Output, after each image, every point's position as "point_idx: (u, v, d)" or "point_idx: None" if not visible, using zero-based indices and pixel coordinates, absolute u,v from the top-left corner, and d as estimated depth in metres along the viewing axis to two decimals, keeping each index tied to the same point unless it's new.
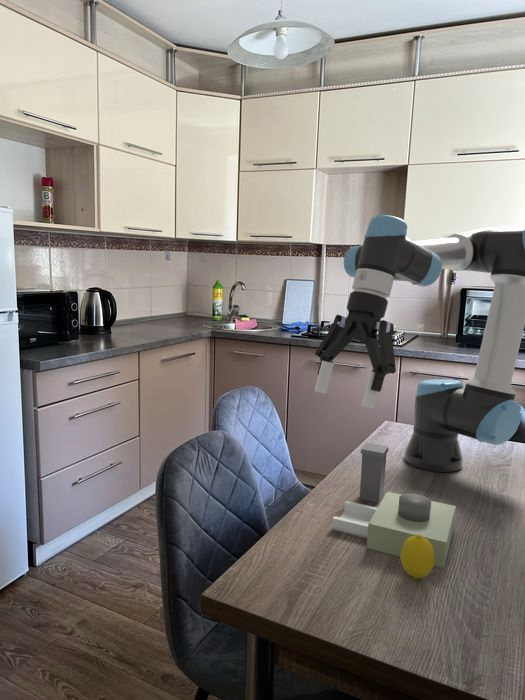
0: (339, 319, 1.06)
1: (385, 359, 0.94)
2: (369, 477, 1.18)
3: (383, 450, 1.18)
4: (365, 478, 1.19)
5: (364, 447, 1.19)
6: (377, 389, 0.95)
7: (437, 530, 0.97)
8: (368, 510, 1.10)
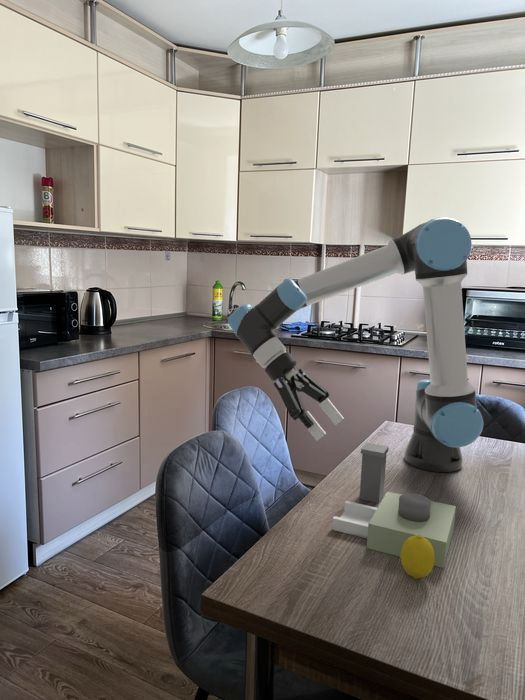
0: None
1: (288, 410, 1.17)
2: (370, 477, 1.18)
3: (383, 450, 1.18)
4: (365, 478, 1.19)
5: (364, 447, 1.19)
6: (308, 426, 1.17)
7: (437, 530, 0.97)
8: (368, 510, 1.10)
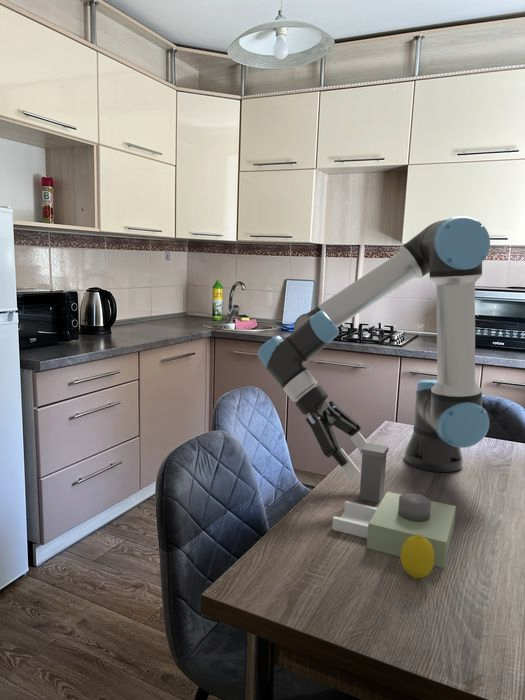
0: None
1: (321, 447, 1.15)
2: (369, 477, 1.18)
3: (383, 450, 1.18)
4: (365, 478, 1.19)
5: (364, 447, 1.19)
6: (342, 464, 1.14)
7: (437, 530, 0.97)
8: (368, 510, 1.10)
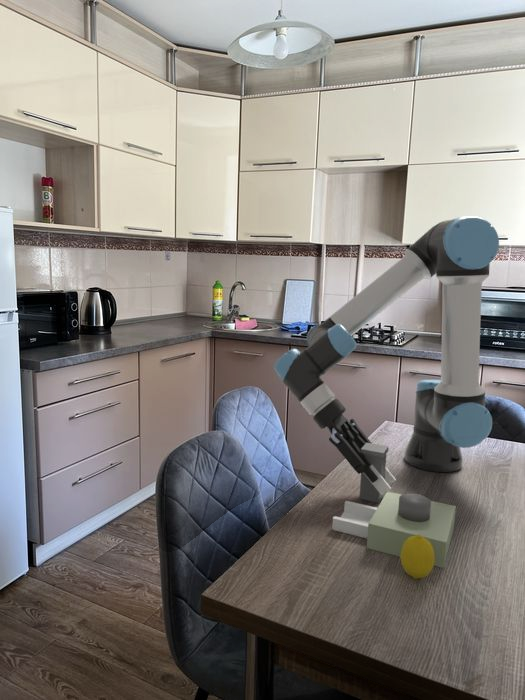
0: None
1: None
2: None
3: (383, 450, 1.18)
4: (365, 478, 1.19)
5: (364, 447, 1.19)
6: (373, 480, 1.16)
7: (437, 530, 0.97)
8: (368, 510, 1.10)
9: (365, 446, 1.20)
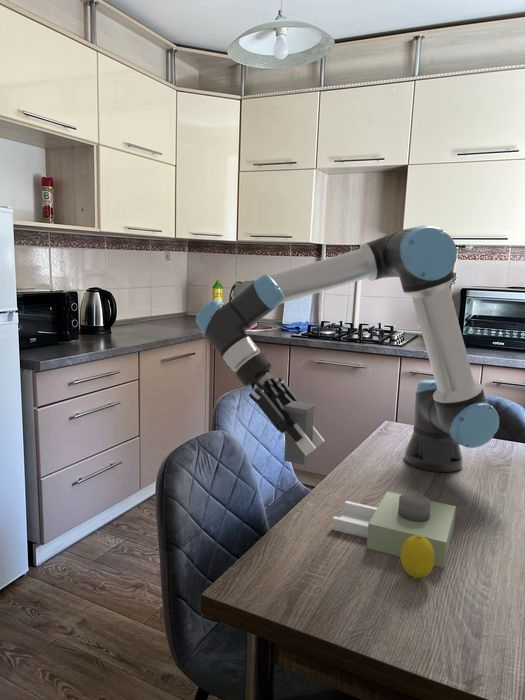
0: None
1: None
2: None
3: (308, 407, 1.08)
4: (289, 438, 1.10)
5: (289, 404, 1.10)
6: (296, 440, 1.07)
7: (437, 530, 0.97)
8: (368, 510, 1.10)
9: (290, 404, 1.11)
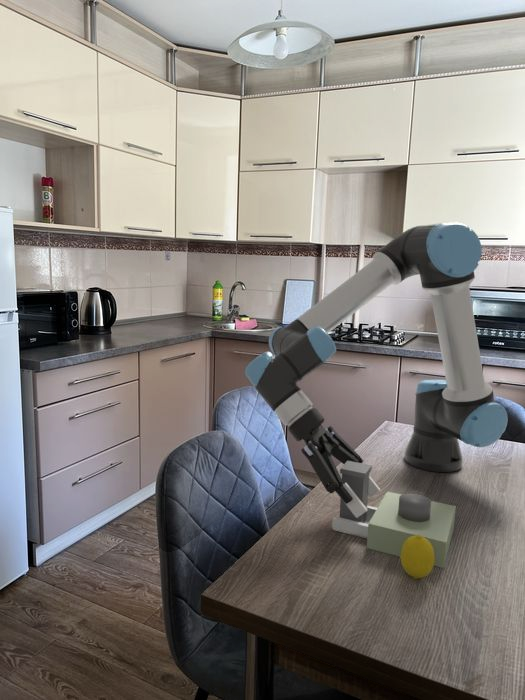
0: None
1: None
2: None
3: (365, 470, 1.05)
4: None
5: (344, 466, 1.06)
6: (346, 501, 1.01)
7: (437, 530, 0.97)
8: (368, 510, 1.10)
9: (345, 465, 1.07)
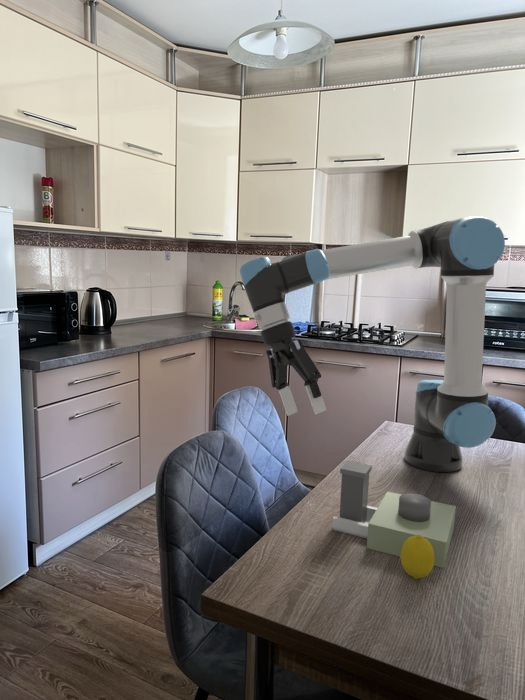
0: (269, 353, 1.24)
1: (307, 372, 1.10)
2: (350, 500, 1.06)
3: (365, 470, 1.05)
4: (345, 501, 1.06)
5: (344, 466, 1.06)
6: (317, 395, 1.11)
7: (437, 530, 0.97)
8: (368, 510, 1.10)
9: (345, 465, 1.07)
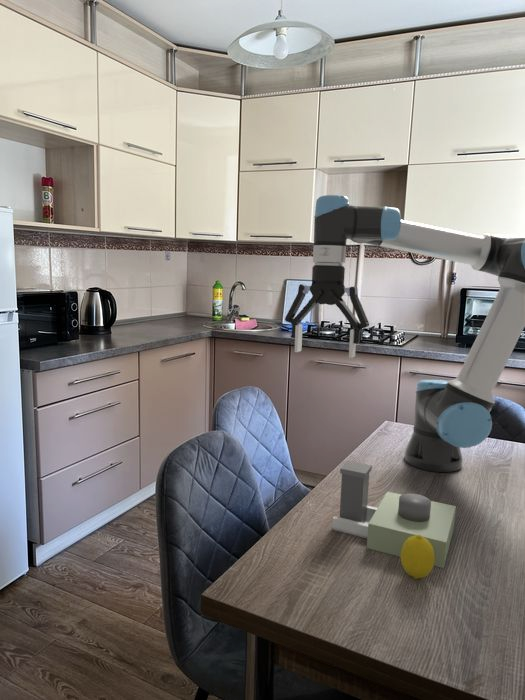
0: (303, 288, 1.24)
1: (363, 318, 1.19)
2: (350, 500, 1.06)
3: (365, 470, 1.05)
4: (345, 501, 1.06)
5: (344, 466, 1.06)
6: (358, 342, 1.21)
7: (437, 530, 0.97)
8: (368, 510, 1.10)
9: (345, 465, 1.07)
